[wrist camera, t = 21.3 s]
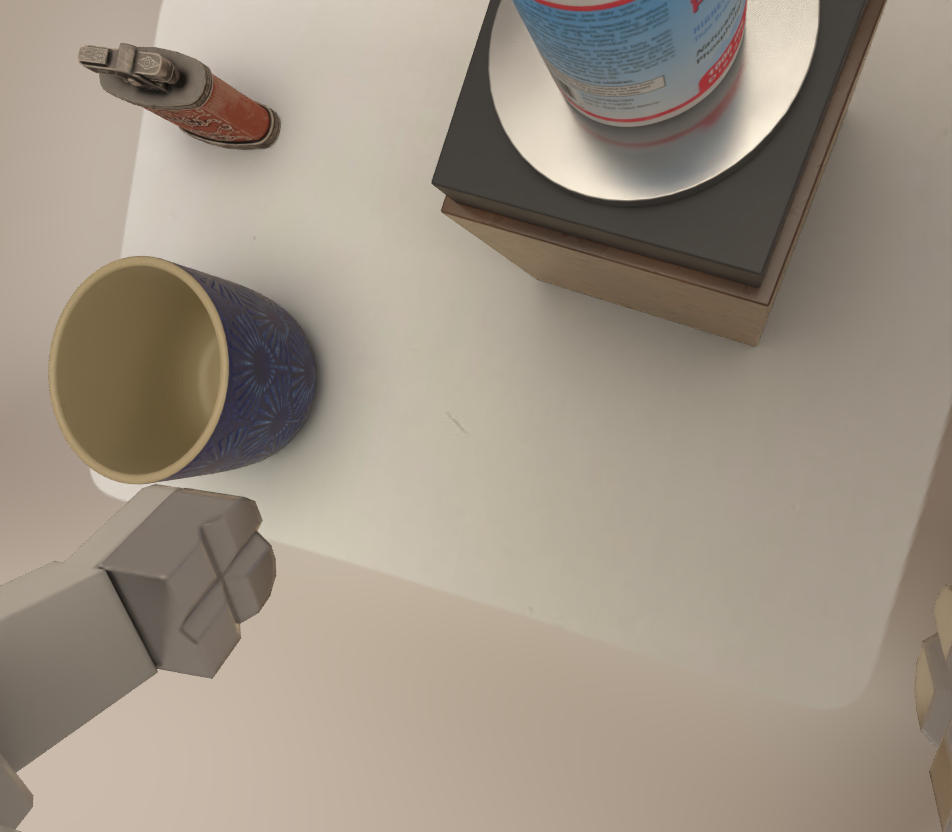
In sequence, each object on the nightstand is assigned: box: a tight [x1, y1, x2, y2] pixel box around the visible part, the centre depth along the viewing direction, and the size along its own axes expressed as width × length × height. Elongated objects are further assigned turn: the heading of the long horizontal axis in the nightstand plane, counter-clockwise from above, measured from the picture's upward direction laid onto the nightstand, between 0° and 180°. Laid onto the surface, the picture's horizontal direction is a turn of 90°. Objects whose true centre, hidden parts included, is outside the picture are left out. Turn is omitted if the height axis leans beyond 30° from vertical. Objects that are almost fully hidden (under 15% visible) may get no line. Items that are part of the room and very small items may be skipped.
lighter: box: [78, 43, 280, 150], centre depth 46 cm, size 8×3×10 cm, turn 75°
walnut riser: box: [441, 0, 887, 346], centre depth 34 cm, size 13×13×15 cm
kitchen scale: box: [432, 0, 869, 288], centre depth 25 cm, size 12×12×3 cm
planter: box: [48, 256, 315, 484], centre depth 45 cm, size 12×12×11 cm
